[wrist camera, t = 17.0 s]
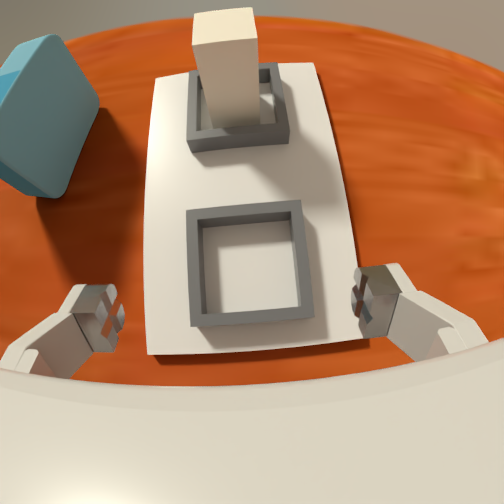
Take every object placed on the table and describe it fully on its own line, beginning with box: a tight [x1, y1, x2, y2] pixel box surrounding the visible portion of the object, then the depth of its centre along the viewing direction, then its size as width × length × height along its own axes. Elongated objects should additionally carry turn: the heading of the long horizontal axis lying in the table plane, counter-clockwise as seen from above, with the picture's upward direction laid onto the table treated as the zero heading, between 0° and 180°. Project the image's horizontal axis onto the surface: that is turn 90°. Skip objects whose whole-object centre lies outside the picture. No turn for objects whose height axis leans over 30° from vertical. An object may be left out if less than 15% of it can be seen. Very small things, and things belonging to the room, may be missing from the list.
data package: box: [0, 34, 99, 198], centre depth 22 cm, size 12×4×12 cm, turn 170°
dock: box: [144, 62, 363, 355], centre depth 24 cm, size 16×26×3 cm, turn 5°
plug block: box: [192, 7, 260, 129], centre depth 21 cm, size 4×4×10 cm
